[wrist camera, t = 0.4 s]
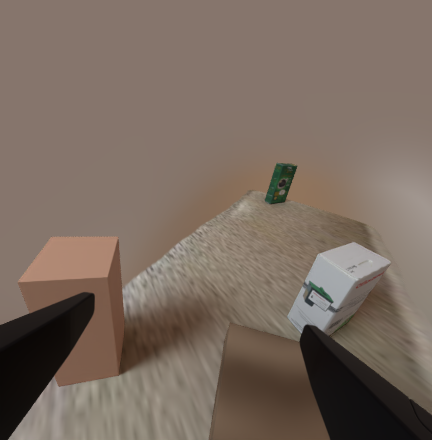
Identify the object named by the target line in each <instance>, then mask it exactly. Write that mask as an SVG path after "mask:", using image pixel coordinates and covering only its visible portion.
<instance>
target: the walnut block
mask: <svg viewBox="0 0 432 440" xmlns="http://www.w3.org/2000/svg"><path fill="white" fill-rule="evenodd" d="M209 440H330V438H329V435H328V432H327V430H326V427H325V424H324V421H323V419H322V416H321V413H320V410H319V408H318V405H317V402H316V399H315V397H314V394H313V391H312V388H311V385H310V382H309V378H308V374H307V371H306V367H305V363H304V359H303V356H302V352H301V348H300V342H298V341H294V340H291V339H287V338H284V337H280V336H276V335H273V334H269V333H266V332H262V331H258V330H255V329H251V328H248V327H244V326H241V325H237V324H233V323H230V324H229V328H228V331H227V334H226V338H225V341H224V347H223V353H222V360H221V366H220V372H219V378H218V385H217V391H216V397H215V404H214V410H213V416H212V422H211V429H210V435H209Z"/></svg>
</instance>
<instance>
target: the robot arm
mask: <svg viewBox="0 0 432 440" xmlns="http://www.w3.org/2000/svg"><path fill="white" fill-rule="evenodd" d="M94 310H95V294H94V293H90V292H82V293H79V294H77V295H74V296H72V297H69V298H67V299H64V300H62V301H59V302H57V303H54V304H52V305H49V306H47V307H44V308H42V309H39V310H37V311H34V312H32V313H29V314H27V315H24V316H22V317H19V318H17V319H14V320H12V321H9V322H7V323H5V324H2V325H0V440H8V439H9V437H10V436H11V435H12V433H13V432H14V431H15V429H16V428H17V426H18V425H19V424H20V422H21V421H22V420H23V418H24V417H25V415H26V414H27V413H28V411H29V410H30V409H31V407H32V406H33V404H34V403H35V402H36V400H37V399H38V397H39V396H40V395H41V393H42V392H43V391H44V389H45V388H46V386H47V385H48V384H49V382H50V381H51V380H52V378H53V377H54V375H55V374H56V373H57V371H58V370H59V369H60V367H61V366H62V364H63V363H64V362H65V360H66V359H67V357H68V356H69V355H70V353H71V352H72V350H73V348H74V347H75V345H76V343H77V342H78V340H79V338H80V337H81V335H82V333H83V332H84V330H85V328H86V327H87V325H88V323H89V321H90V320H91V318H92V316H93V314H94ZM300 348H301V352H302V356H303V359H304V363H305V367H306V371H307V374H308V378H309V382H310V385H311V388H312V391H313V394H314V397H315V399H316V402H317V405H318V408H319V410H320V413H321V416H322V419H323V421H324V424H325V427H326V430H327V432H328V435H329V438H330V440H432V415H431V414H430V413H428V412H427V411H426V410H424V409H423V408H422V407H420V406H419V405H418V404H417V403H415V402H414V401H413V400H411V399H409V398H408V397H407V396H406V395H405V394H403V393H402V392H401V391H400V390H398V389H397V388H396V387H394V386H393V385H392V384H390V383H389V382H388V381H387V380H385V379H384V378H383V377H381V376H380V375H379V374H378V373H376V372H375V371H374V370H372V369H371V368H370V367H368V366H367V365H366V364H365V363H363V362H362V361H361V360H359V359H358V358H357V357H355V356H354V355H353V354H352V353H350V352H349V351H348V350H346V349H345V348H344V347H342V346H341V345H340V344H339V343H337V342H336V341H335V340H333V339H332V338H331V337H330V336H328V335H327V334H326V333H324V332H323V331H322V330H320V329H319V328H318V327H317V326H315V325H309V324H306V325H305V326H304V328H303V331H302V334H301V337H300Z"/></svg>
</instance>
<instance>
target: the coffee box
mask: <svg viewBox="0 0 432 440" xmlns="http://www.w3.org/2000/svg"><path fill="white" fill-rule="evenodd" d="M296 169H297V166H296V165H294V164H283V163H276V166H275V170H274V173H273V176H272V179H271V183H270V186H269V189H268V192H267V195H266V198H265V202H267V203H269V204H272V203H273V204H274V203H280V202H285V200H286V197H287V194H288V191H289V188H290V185H291V183H292V180H293V177H294V174H295V172H296Z"/></svg>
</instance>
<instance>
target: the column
mask: <svg viewBox="0 0 432 440" xmlns="http://www.w3.org/2000/svg"><path fill="white" fill-rule="evenodd" d="M18 285H19V287H20V290H21V292H22V295H23V297H24V300H25V302H26V305H27V308H28V310H29V313H32V312H34V311H37V310H39V309H42V308H44V307H47V306H49V305H52V304H54V303H57V302H59V301H62V300H64V299H67V298H69V297H72V296H74V295H77V294H79V293H82V292H90V293H94V294H95V310H94V314H93V316H92V318H91V320H90V321H89V323H88V325H87V327H86V328H85V330H84V332H83V333H82V335H81V337H80V338H79V340H78V342H77V343H76V345H75V347H74V348H73V350H72V352H71V353H70V355H69V356H68V357H67V359H66V360H65V362H64V363H63V364H62V366H61V367H60V369H59V370H58V371H57V373H56V374H55V375H54V376H55V379H56V381H57V384H58V386H59V387H60V386H65V385H70V384H76V383H81V382H86V381H92V380H97V379H103V378H108V377H113V376H119V369H120V362H121V354H122V347H123V339H124V331H125V322H124V308H123V295H122V281H121V267H120V253H119V240H118V237H51V238H50V240H49V241H48V243H47V244H46V245H45V247H44V248H43V249H42V251H41V252H40V253H39V255H38V256H37V257H36V259H35V260H34V261H33V262H32V264H31V265H30V266H29V268H28V269H27V270H26V272H25V273H24V274H23V276H22V277H21V278H20V280H19V281H18Z"/></svg>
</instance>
